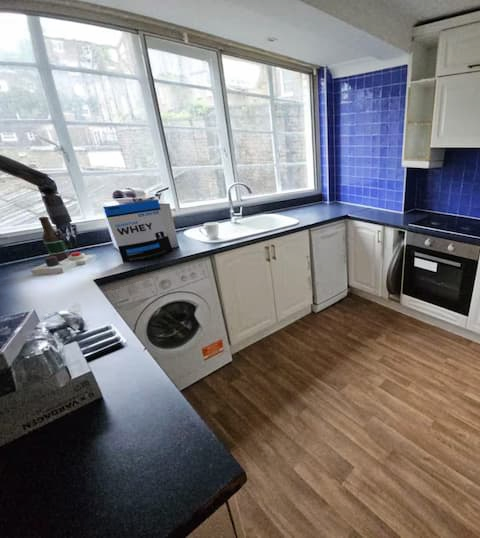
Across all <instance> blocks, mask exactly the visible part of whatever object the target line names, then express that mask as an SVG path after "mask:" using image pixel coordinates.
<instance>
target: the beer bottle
mask: <svg viewBox="0 0 480 538" xmlns="http://www.w3.org/2000/svg"><path fill="white" fill-rule="evenodd" d="M38 220H39V222H40V224H41V227H42V229H43V234H42V241H43V244H44V246H45V248H46V250H47V253H48V255H49V257H51V256H56V257H57V260H58V262H61V261H63V260H65V259H67V258H68V256H70V255H71V253H70V252H69V249H68V247H66V245H65V243H64V241H60V240H59V239H58V238H57V237H56V236H55V234H54V233H53V231H55V230H56V229H55V228H54V227H53V224H52V222H51V221H50V218H49V216H40V217H38ZM60 238H61V237H60Z"/></svg>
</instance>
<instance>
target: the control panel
mask: <svg viewBox="0 0 480 538" xmlns="http://www.w3.org/2000/svg"><path fill="white" fill-rule="evenodd" d="M58 262H59V265H56V266H51V267H48V266H47V264H46V262H45V263H43V264H40V265H38V266H37V267H34V268H33V269H30V272H31V274H32V276H44V275H53V274H54V275H55V274H64V273H66V272H69V271H70V270H72V269H73V268H75V267H77V266H78V265H77V264H76V262H75V260H74V261H63V262H61V261H58Z"/></svg>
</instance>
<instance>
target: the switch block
mask: <svg viewBox="0 0 480 538" xmlns="http://www.w3.org/2000/svg"><path fill="white" fill-rule="evenodd" d="M80 254H81V255H79V256H75V257H72V255H71V254H70V256H68V258H67V259H65V260H63V261H74V260H75V262H76V264H77V266H80V265H87V264H89V263H91V262H93V261H94V260H96V259H98V257H97V254H95V253H94V254H85V253H83V252H80ZM63 261H60V262H63Z"/></svg>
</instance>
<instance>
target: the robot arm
mask: <svg viewBox="0 0 480 538" xmlns="http://www.w3.org/2000/svg"><path fill="white" fill-rule="evenodd" d="M0 172H2V173H4V174H7V175H9V176H12V177H15V178H17V179H21V180H23V181H25V182H27V183H29V184H32V185H34V186H36V187H37V189H38V192H40V195H41V200H42V202H43V205H44V206H45V210H46V213H47V215H48V218H49V221H50V223H51V225H54V226H55V229H54V230H55V231H53V233H54V234H55V236H56V237H57V238H58V239H59V240H60V241H64V243H65V245H66V247H67V248H72V247H73V246H76V245H78V241H77V239H76V237H77V236H78V228H77V224H71V223H72V217H71V215H70V213H69V210H68V208H67V207H66V204H65V203H64V200H63V198H62V195H61V194H60V193H59V189H58V185H57V183H56V180H55V178H54V177H53V176H52V175H51V174H49V173H45V172H43V171H40V170H38V169H35V168H32V167H30V166H28V165H27V164H24V163H22V162H20V161H17V160H16V159H12V158H10V157H8V156H5V155H3V154H0ZM60 237H61V238H60Z"/></svg>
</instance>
